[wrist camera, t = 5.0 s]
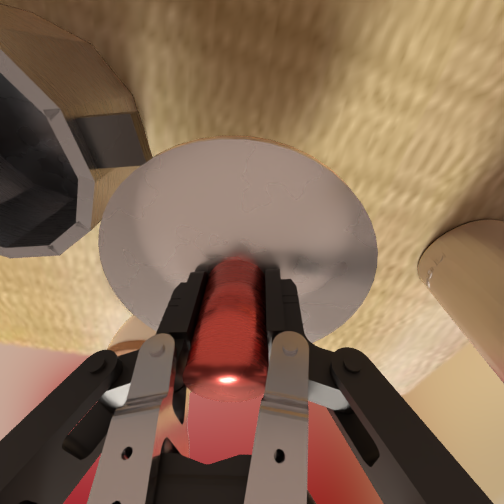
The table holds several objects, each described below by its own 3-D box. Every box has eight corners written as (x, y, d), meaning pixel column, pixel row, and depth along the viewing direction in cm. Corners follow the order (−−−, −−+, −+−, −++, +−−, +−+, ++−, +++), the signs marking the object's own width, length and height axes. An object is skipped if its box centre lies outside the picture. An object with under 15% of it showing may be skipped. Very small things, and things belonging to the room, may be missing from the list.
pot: (148, -1, 14) (63, -60, 8) (194, 196, 22) (169, 248, 15) (-131, 29, 15) (-415, -3, 9) (5, 209, 22) (-93, 264, 16)
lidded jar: (149, 344, 36) (121, 417, 28) (112, 295, 29) (64, 371, 22) (219, 337, 35) (210, 411, 27) (196, 284, 28) (176, 361, 21)
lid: (398, 120, 9) (586, 183, 4) (341, 332, 17) (378, 450, 12) (67, 139, 10) (-157, 212, 5) (158, 333, 18) (113, 444, 13)
